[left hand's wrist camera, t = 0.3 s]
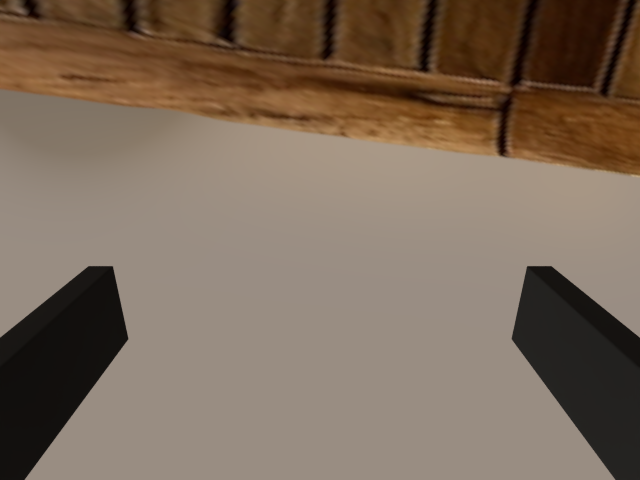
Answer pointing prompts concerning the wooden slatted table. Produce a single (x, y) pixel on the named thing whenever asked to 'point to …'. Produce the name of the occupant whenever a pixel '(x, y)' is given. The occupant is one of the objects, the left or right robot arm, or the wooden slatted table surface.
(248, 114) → the wooden slatted table surface
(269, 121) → the wooden slatted table surface
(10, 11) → the wooden slatted table surface
